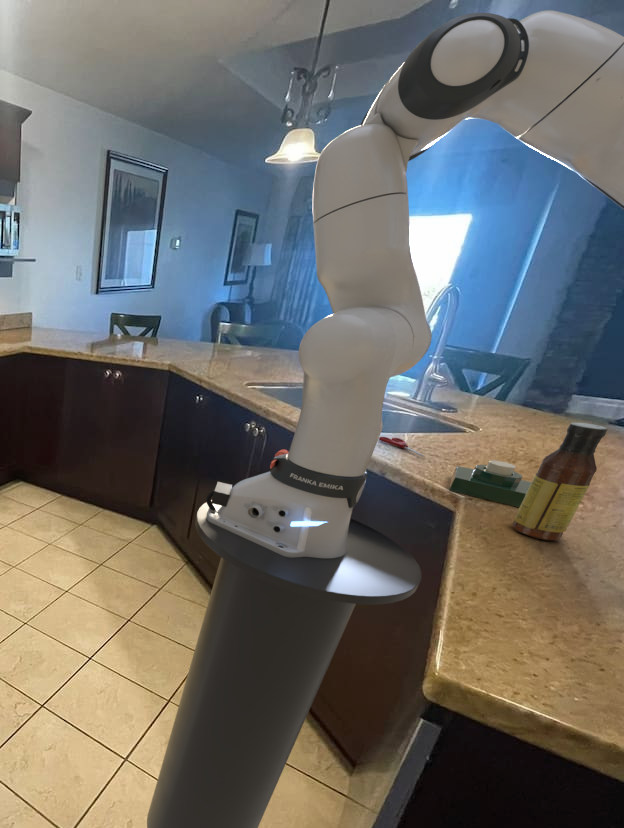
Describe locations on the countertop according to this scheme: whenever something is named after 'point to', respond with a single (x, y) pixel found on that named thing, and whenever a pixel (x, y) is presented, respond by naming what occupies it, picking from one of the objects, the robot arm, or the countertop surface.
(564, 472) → the sauce bottle
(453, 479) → the base
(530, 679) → the countertop surface
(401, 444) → the scissors
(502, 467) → the white short cylinder
